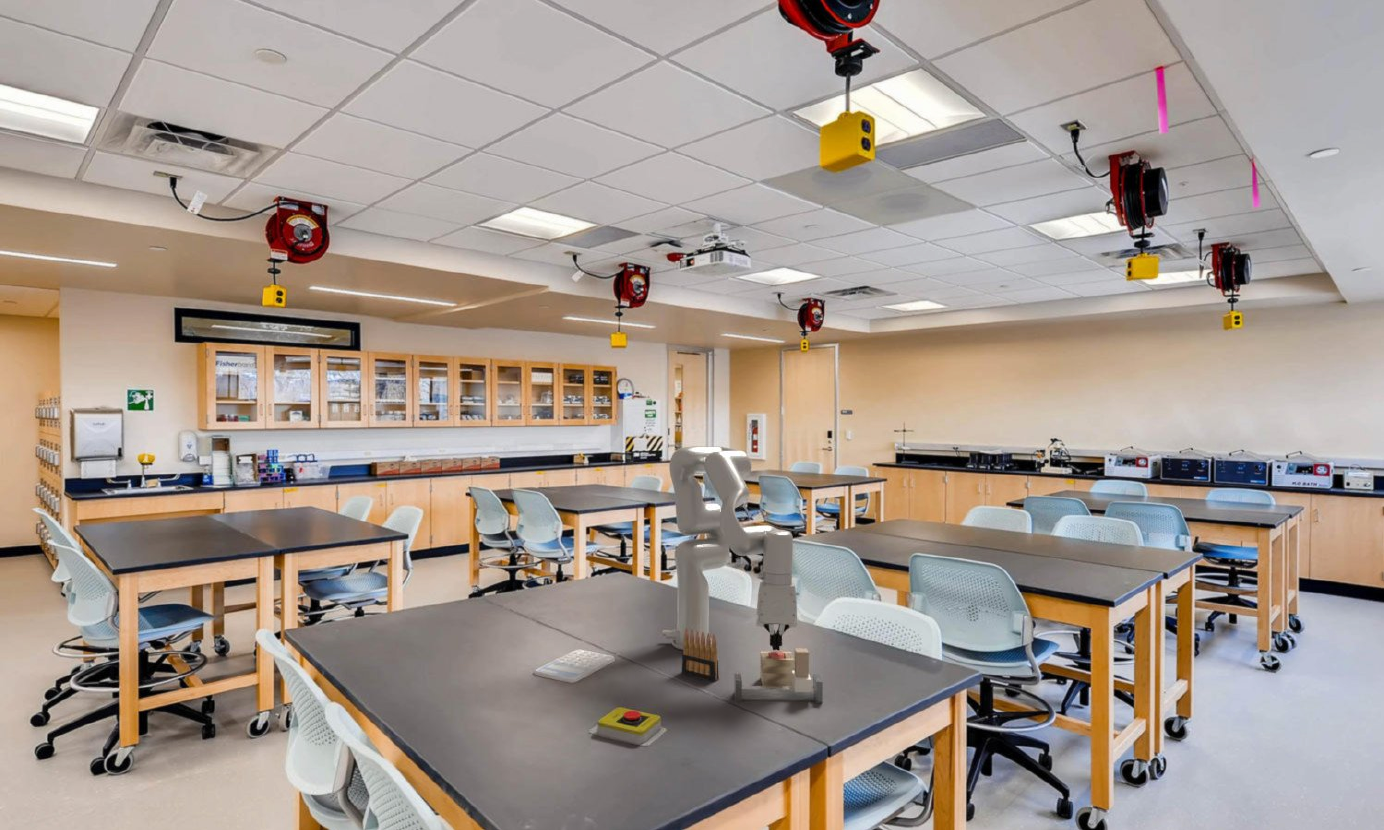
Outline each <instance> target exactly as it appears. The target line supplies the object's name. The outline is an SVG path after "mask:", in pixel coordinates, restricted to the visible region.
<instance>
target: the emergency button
mask: <svg viewBox="0 0 1384 830" xmlns="http://www.w3.org/2000/svg"><path fill="white" fill-rule="evenodd" d="M661 720H662V719H661V716H660V715H657V714H652V713H648V712H644V711H639V710H636V709H635V710H633V709H629V708H625V707H616V708H615V709H613V710H612V711H610V712H608V713H607V714H606V715H604V716H603V717H601V718H600V719H599V720H598V721H597V724H596V725H595V726H594V727H592V728H590V729H589V730H588V733H589V734H591V735H596V736H600V737H604V738H606V739H612V740H615V741H620V742H623V743H628V744H631V745H632V744H633V745H637V746H641V747H649V746H651V745H652V744H654V743H655V742H656V741H657V740H658V739H659V738H660V737H661V736H663V735H664V734H665V733H666V732H667V731H668V730H667V728H665V727H662V721H661Z"/></svg>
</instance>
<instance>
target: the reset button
mask: <svg viewBox="0 0 1384 830" xmlns="http://www.w3.org/2000/svg"><path fill="white" fill-rule="evenodd" d="M770 652H771V653H770V658H771V659H784V653H783V652H784V651H778V650H773V651H770Z"/></svg>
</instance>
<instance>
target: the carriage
mask: <svg viewBox="0 0 1384 830" xmlns="http://www.w3.org/2000/svg"><path fill="white" fill-rule="evenodd" d="M809 662H810V652H809V650H808V648H806V647H805V648H803V647H802V648H798V647H796V648H794V671H792V685H793V688H794V691H795V692H812V687H813V678H811V677H812V676H811V675H810V673H809V672H810V671H809V670H810V666H809V665H810V663H809Z"/></svg>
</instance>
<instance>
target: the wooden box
mask: <svg viewBox="0 0 1384 830" xmlns="http://www.w3.org/2000/svg"><path fill="white" fill-rule="evenodd" d="M771 652H772V651H760V683H761V686H793V685H792V671H795V657H794V655H793V653H792V651H782V652H783V653H784V659H771V658H770V653H771Z"/></svg>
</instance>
